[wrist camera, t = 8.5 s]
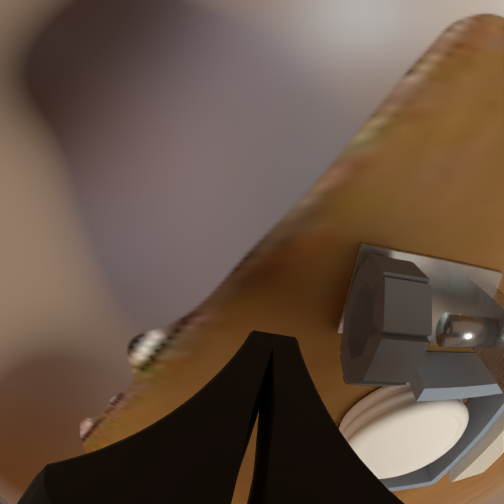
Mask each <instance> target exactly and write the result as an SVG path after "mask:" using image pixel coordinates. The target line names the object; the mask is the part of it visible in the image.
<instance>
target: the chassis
mask: <svg viewBox="0 0 504 504" xmlns="http://www.w3.org/2000/svg"><path fill="white" fill-rule="evenodd" d="M409 383H410V386H411V388H412V391H413V394H414V396H415V399H416V401H437V400H452V399H463V398H470V400H469V401H468V402H467V404H466V407H467V409H468V413H469V421H468V424H467V427H466V429H465V431H464V433H463V434H462V436H461V437H460V439H459V440H458V441H457V443H456V444H455V445H454V446H453V447H452V448H451V449H450V450H448V451H447V452H446V453H445V454H444V455H442V456H441V457H439V458H438V459H436V460H435V461H433V462H432V463H430V464H428V465H426V466H424V467H422V468H420V469H418V470H415V471H413V472H410V473H407V474H404V475H400V476H396V477H392V478H385V479H379V480H380V481H381V482H382V483H383V484H384V486H385V487H386V488H388V489H389V490H390V491H398V490H405V489H411V488H417V487H423V486H428V485H432V484H435V483H436V482H437V481H438V480H439V479H440V478H442V477H443V476H444V475H445V474H446V473H447V472H448V473H449V477H450V481H451V482H454V481H457V480H461V479H464V478H467V477H471V476H474V475H477V474H480V473H483V472H484V471H485V470H486V469H487V468H488V467H489V466H490V465H492V464H493V463H494V462H495V461H496V460H497V459H498V458H499V457H500V456H501V455H502V454H503V453H504V393H503V392H502V391H501V389H500V388H499V386H498V384H497V383H496V381H495V380H494V378H493V377H492V375H491V374H490V372H489V371H488V369H487V368H486V366H485V365H484V363H483V362H482V360H481V359H480V357H479V356H478V355H477V353H461V352H429V351H426V352H425V354H424V356H423V358H422V360H421V362H420V364H419V366H418V368H417V370H416V372H415V373H414V375H413V377H412V379H411V381H410V382H409Z"/></svg>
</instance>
